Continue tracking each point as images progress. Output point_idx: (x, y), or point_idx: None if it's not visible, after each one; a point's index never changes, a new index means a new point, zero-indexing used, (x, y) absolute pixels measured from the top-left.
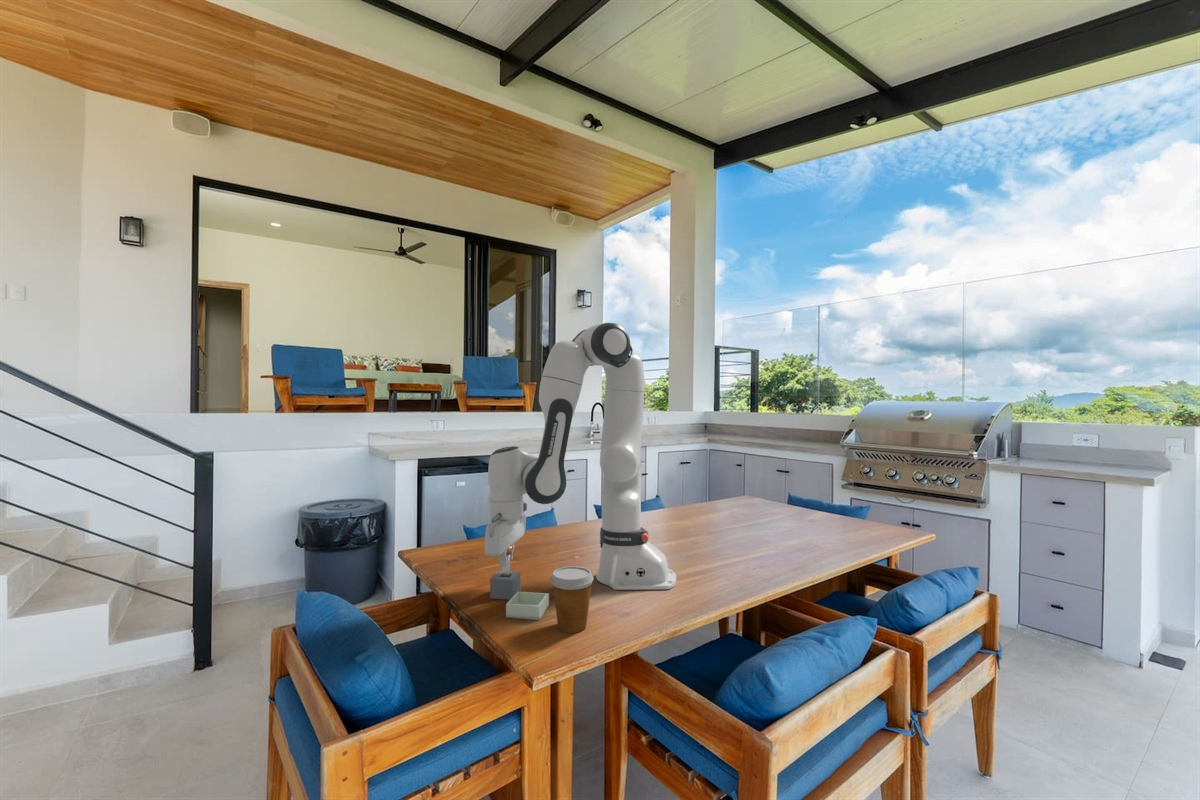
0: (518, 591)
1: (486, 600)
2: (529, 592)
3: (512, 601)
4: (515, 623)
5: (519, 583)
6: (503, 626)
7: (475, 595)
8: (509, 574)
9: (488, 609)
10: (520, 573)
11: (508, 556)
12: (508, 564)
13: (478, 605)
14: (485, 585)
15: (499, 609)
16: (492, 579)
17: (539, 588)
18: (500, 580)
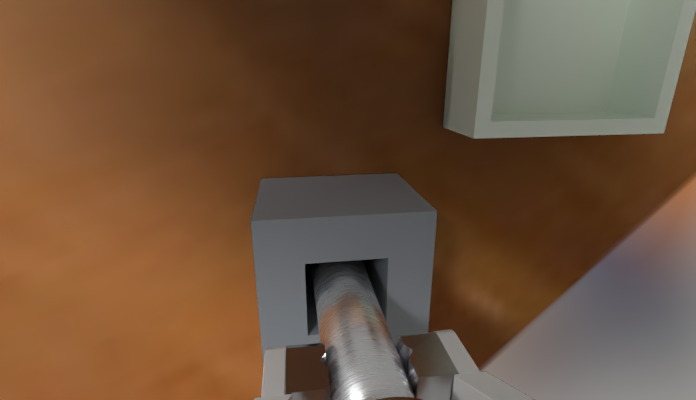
0: (473, 132)
1: None
2: (487, 47)
3: (598, 118)
4: None
5: (277, 193)
6: (693, 98)
7: None
8: (352, 272)
9: (517, 240)
10: (253, 215)
11: (397, 387)
12: (380, 326)
13: (477, 300)
14: (233, 382)
15: (516, 191)
16: None
17: (184, 70)
18: (427, 291)
